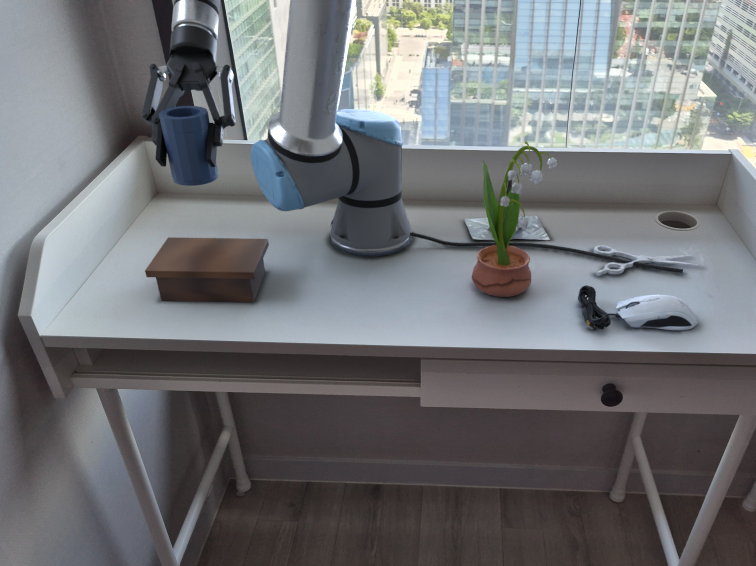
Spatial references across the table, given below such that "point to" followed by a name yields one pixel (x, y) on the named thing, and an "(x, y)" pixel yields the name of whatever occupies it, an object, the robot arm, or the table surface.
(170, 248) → the overhanging wooden cap box
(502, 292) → the potted flower
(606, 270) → the scissors
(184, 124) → the jar
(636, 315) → the computer mouse
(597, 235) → the table surface
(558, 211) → the table surface
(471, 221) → the flat silver square plate
